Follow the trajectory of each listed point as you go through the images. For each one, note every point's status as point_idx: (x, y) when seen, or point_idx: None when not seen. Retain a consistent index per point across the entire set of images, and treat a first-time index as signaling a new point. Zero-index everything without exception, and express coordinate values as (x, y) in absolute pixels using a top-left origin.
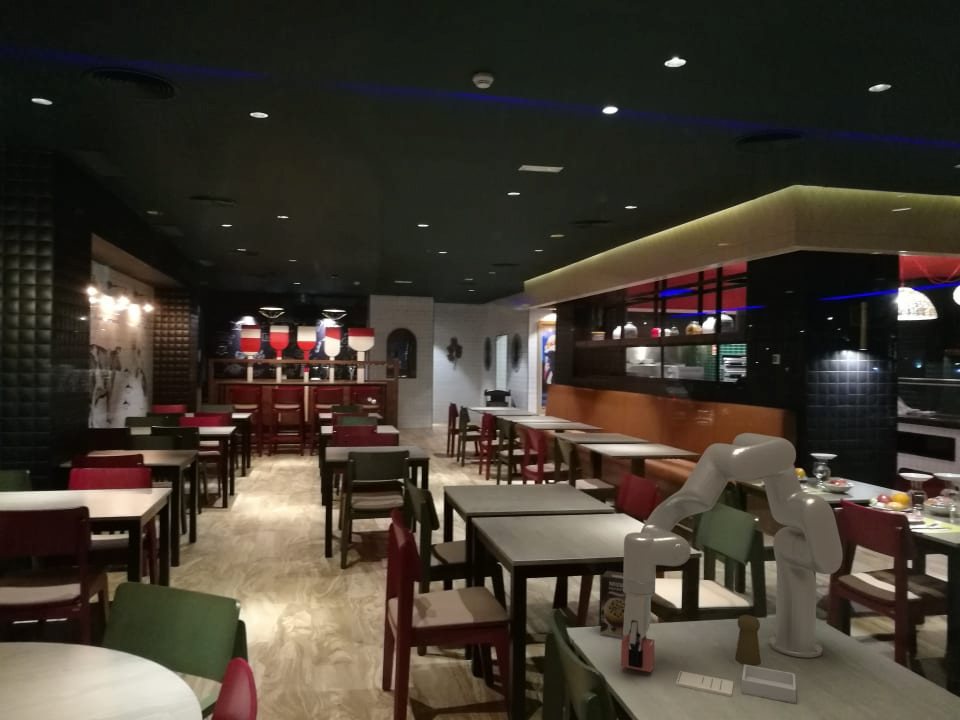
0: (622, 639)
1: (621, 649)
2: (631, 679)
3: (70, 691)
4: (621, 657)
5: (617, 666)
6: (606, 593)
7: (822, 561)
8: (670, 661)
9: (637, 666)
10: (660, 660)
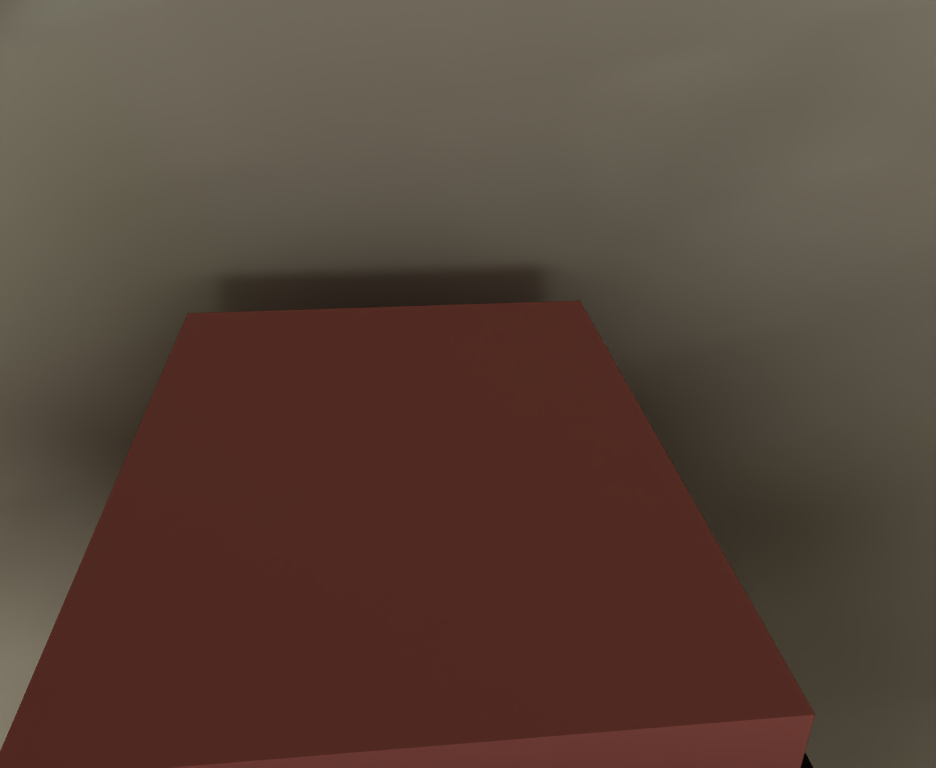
0: (197, 765)
1: (90, 541)
2: (26, 487)
3: None
4: (152, 412)
5: (423, 151)
6: None
7: None
8: (904, 742)
9: None
10: (906, 653)
